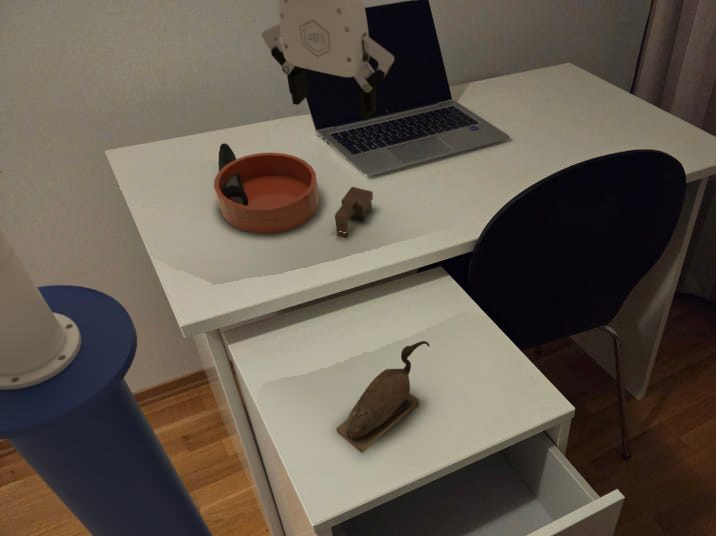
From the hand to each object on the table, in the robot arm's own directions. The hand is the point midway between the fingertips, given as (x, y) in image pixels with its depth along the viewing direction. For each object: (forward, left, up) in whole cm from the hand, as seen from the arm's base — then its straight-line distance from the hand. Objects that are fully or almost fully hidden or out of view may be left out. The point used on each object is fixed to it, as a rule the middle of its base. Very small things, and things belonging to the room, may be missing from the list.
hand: (333, 107), depth 85 cm
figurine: (+19, -30, -20) cm, 41 cm away
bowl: (-14, +2, -20) cm, 25 cm away
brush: (0, +3, -20) cm, 20 cm away
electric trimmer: (-22, +4, -20) cm, 30 cm away
